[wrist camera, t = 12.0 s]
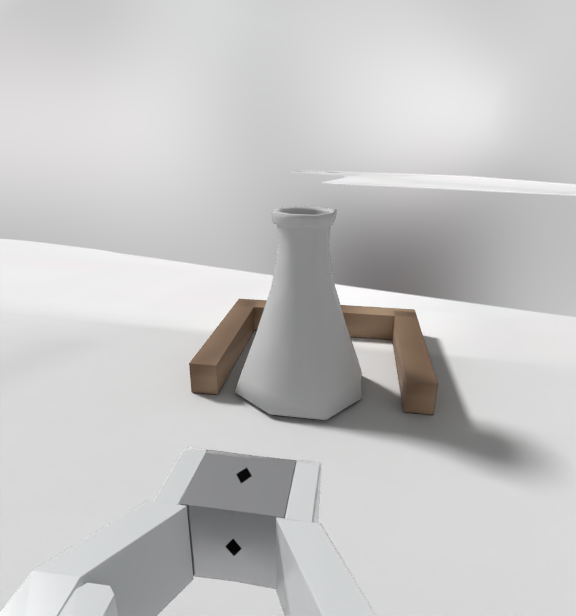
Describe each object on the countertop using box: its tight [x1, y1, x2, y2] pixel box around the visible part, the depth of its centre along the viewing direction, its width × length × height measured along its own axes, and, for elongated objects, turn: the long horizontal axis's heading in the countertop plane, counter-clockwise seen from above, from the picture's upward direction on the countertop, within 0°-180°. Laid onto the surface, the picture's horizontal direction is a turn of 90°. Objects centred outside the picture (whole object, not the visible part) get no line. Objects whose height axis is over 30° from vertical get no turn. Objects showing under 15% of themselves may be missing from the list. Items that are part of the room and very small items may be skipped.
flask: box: [235, 206, 362, 420], centre depth 24 cm, size 7×7×10 cm
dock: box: [189, 299, 438, 415], centre depth 28 cm, size 13×10×2 cm
